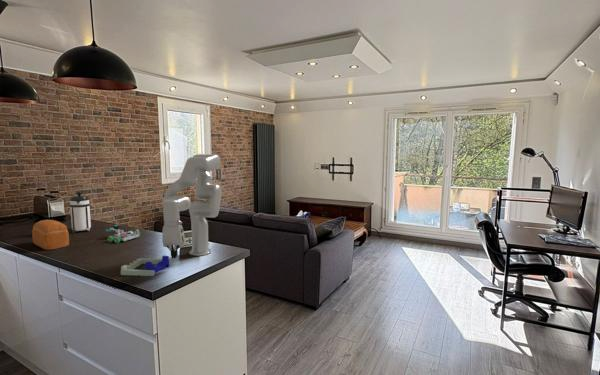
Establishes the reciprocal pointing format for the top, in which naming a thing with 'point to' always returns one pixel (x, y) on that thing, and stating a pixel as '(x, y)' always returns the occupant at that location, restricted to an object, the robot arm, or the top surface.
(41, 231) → the bread
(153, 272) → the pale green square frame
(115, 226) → the robot kit
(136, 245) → the top surface
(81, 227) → the coffee press
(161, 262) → the cable clip
